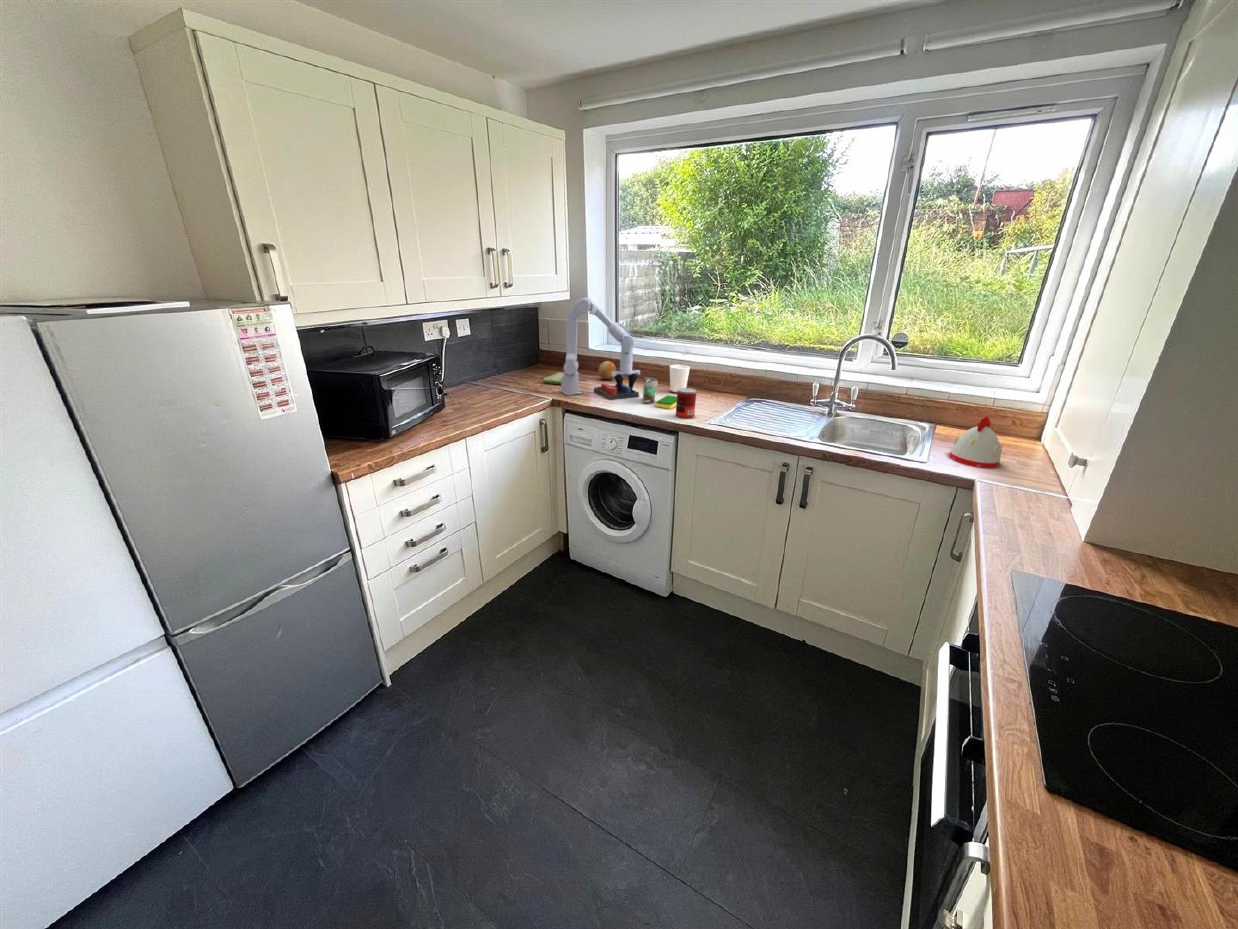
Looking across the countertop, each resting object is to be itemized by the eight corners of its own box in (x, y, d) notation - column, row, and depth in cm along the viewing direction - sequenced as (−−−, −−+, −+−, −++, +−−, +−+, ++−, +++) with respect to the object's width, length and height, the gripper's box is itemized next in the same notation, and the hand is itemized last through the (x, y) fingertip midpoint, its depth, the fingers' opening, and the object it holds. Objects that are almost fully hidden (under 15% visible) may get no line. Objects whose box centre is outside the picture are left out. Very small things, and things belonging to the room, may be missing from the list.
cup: (691, 391, 248) (693, 366, 244) (682, 395, 241) (684, 369, 236) (673, 388, 253) (675, 363, 248) (664, 392, 245) (666, 366, 241)
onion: (596, 381, 265) (596, 362, 261) (600, 377, 274) (600, 359, 270) (614, 382, 263) (614, 363, 260) (617, 378, 273) (618, 360, 269)
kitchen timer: (941, 457, 169) (953, 414, 163) (959, 450, 176) (972, 409, 171) (988, 470, 158) (1003, 425, 153) (1005, 462, 166) (1020, 419, 160)
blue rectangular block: (621, 389, 245) (621, 382, 244) (633, 394, 236) (633, 387, 234) (613, 390, 243) (613, 383, 242) (625, 395, 234) (625, 388, 232)
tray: (610, 399, 228) (610, 395, 227) (594, 391, 242) (594, 387, 241) (638, 396, 235) (639, 392, 234) (621, 389, 249) (621, 385, 248)
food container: (657, 405, 222) (658, 382, 218) (643, 404, 222) (644, 382, 218) (656, 398, 233) (657, 377, 230) (642, 397, 233) (644, 376, 230)
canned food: (695, 414, 209) (698, 388, 205) (692, 419, 202) (694, 392, 198) (677, 412, 211) (679, 386, 207) (673, 417, 204) (675, 390, 200)
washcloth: (541, 383, 256) (541, 376, 255) (559, 377, 271) (559, 371, 270) (563, 386, 251) (563, 380, 250) (580, 380, 266) (580, 374, 264)
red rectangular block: (609, 396, 231) (610, 388, 230) (598, 390, 240) (599, 383, 239) (618, 395, 233) (618, 388, 232) (607, 390, 242) (607, 383, 241)
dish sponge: (655, 406, 219) (656, 401, 218) (666, 400, 231) (667, 395, 230) (670, 409, 216) (671, 403, 215) (681, 402, 228) (681, 397, 227)
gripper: (616, 364, 226) (615, 393, 231) (644, 362, 232) (642, 391, 237) (609, 361, 231) (608, 390, 236) (636, 359, 238) (635, 387, 243)
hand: (625, 390), depth 237 cm, fingers open, 5 cm apart
